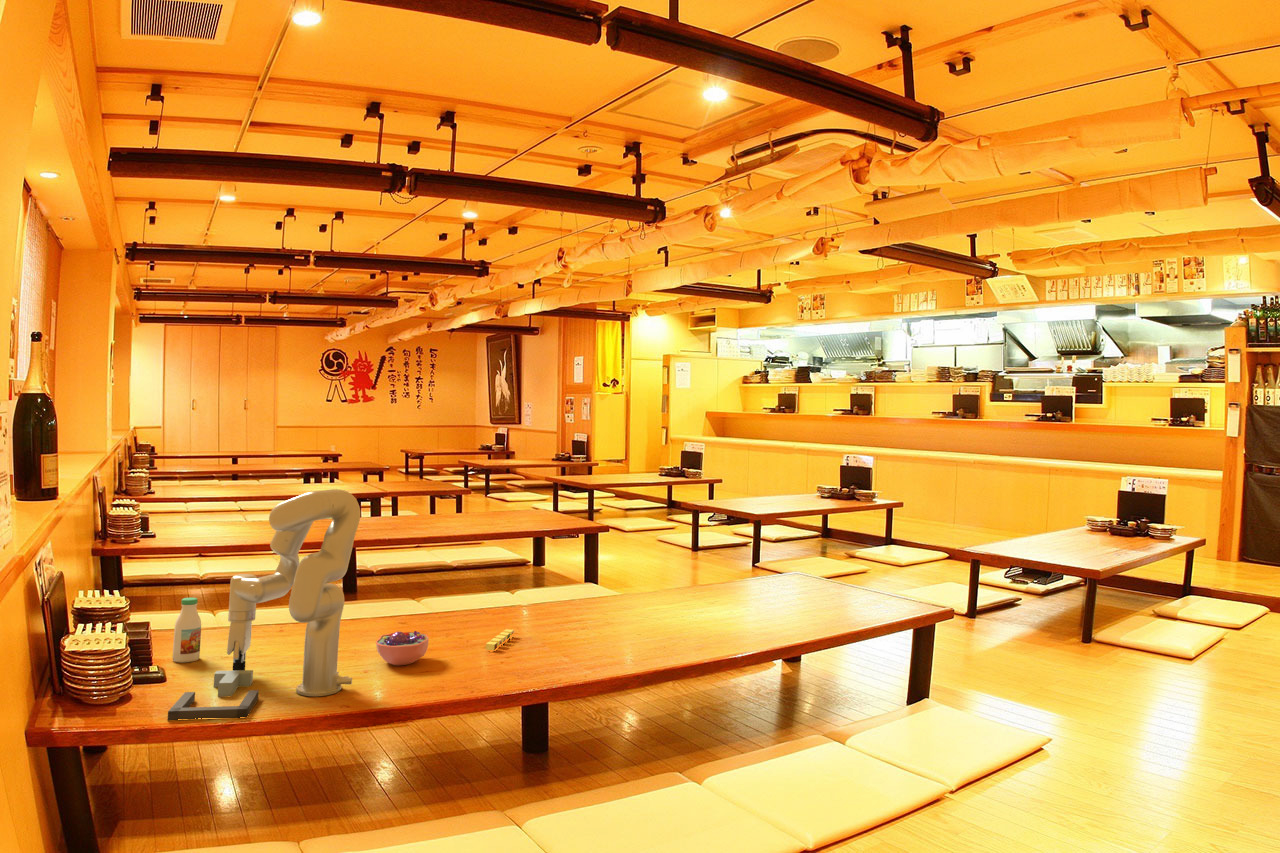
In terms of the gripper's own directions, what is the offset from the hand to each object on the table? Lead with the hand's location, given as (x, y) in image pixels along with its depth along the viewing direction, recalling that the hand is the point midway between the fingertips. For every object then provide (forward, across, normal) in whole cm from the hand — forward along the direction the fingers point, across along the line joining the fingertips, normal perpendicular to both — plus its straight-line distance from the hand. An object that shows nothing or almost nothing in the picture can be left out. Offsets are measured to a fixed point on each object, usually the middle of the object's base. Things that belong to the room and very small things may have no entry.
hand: (238, 674), depth 248 cm
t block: (+1, +11, 0) cm, 11 cm away
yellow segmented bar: (+2, -36, +85) cm, 92 cm away
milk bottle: (+1, -21, -20) cm, 29 cm away
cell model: (+1, -13, +48) cm, 50 cm away
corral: (+1, +28, 0) cm, 28 cm away
